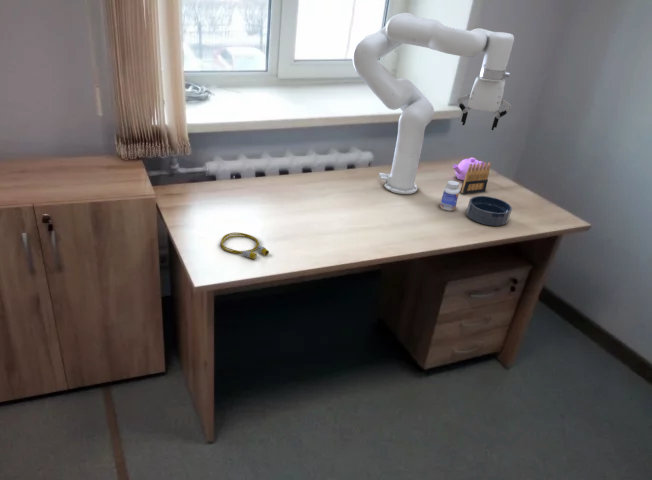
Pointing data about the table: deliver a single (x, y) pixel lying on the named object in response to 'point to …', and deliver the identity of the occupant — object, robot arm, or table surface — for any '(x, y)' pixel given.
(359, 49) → the robot arm
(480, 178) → the ammunition clip
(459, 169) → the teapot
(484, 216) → the bowl
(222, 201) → the table surface
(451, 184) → the pill bottle
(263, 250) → the extension cord
